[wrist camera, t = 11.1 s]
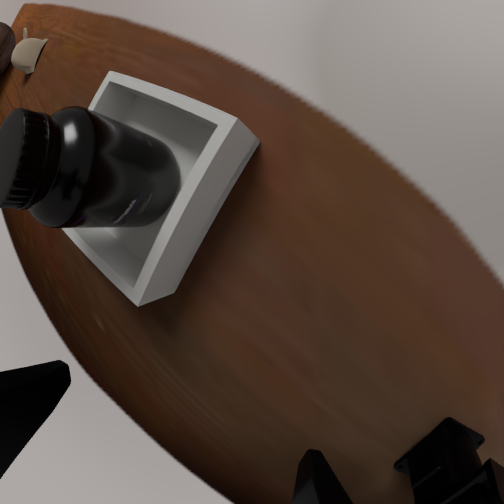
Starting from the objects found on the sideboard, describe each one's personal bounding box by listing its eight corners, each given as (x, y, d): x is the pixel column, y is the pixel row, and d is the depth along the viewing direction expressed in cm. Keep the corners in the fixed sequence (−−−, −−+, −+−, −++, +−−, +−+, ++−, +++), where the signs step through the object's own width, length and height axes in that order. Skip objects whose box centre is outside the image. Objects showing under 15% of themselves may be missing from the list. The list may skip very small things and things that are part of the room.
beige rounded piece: (24, 78, 29) (1, 71, 24) (41, 38, 28) (21, 29, 22) (33, 72, 28) (9, 64, 23) (52, 31, 26) (31, 22, 21)
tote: (260, 141, 18) (237, 118, 14) (174, 292, 21) (137, 306, 17) (142, 89, 21) (109, 70, 17) (83, 211, 24) (47, 210, 19)
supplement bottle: (162, 242, 20) (9, 258, 8) (104, 207, 21) (-25, 204, 10) (198, 151, 18) (53, 89, 7) (132, 129, 20) (7, 86, 9)
